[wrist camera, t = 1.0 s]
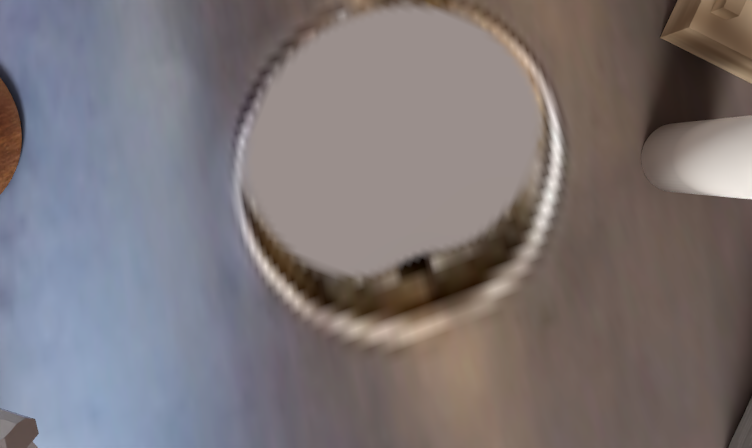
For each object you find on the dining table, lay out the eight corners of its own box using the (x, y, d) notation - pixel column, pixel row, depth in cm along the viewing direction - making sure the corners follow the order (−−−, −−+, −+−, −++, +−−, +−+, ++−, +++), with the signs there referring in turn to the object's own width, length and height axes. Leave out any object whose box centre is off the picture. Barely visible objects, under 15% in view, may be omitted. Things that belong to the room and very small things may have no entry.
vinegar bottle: (641, 123, 51) (786, 107, 35) (707, 123, 52) (880, 106, 36) (640, 192, 52) (782, 206, 36) (705, 191, 52) (875, 205, 36)
